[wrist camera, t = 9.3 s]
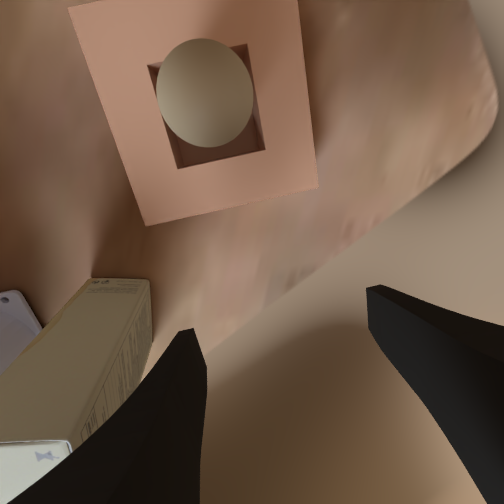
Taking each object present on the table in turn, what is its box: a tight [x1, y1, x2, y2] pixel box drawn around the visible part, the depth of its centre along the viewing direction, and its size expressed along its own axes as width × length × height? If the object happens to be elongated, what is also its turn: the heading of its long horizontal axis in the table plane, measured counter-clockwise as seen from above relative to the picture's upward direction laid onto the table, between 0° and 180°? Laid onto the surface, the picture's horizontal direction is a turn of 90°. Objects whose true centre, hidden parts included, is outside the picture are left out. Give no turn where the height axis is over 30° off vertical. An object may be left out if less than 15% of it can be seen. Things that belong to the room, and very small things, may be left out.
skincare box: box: [0, 278, 152, 504], centre depth 16 cm, size 6×4×12 cm
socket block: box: [67, 0, 319, 226], centre depth 16 cm, size 10×10×4 cm
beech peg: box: [156, 38, 253, 147], centre depth 13 cm, size 3×3×8 cm
